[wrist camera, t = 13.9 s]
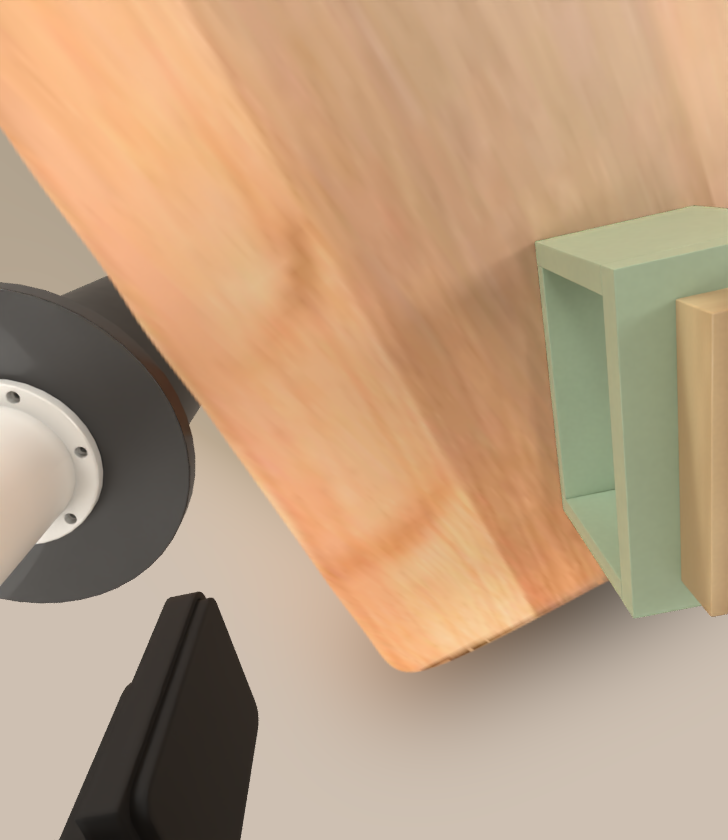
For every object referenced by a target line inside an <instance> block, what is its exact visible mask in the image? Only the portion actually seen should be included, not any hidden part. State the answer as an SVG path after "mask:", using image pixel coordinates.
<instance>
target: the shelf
mask: <svg viewBox="0 0 728 840" xmlns="http://www.w3.org/2000/svg"><path fill="white" fill-rule="evenodd" d="M535 248H536V258H537V265H538V276H539V286H540V295H541V305H542V314H543V324H544V333H545V343H546V352H547V362H548V371H549V381H550V390H551V400H552V409H553V419H554V428H555V438H556V447H557V457H558V466H559V476H560V485H561V493H562V504H563V510H564V512H565V513H566V515H567V516H568V518H569V519H570V521H571V522H572V524H573V525H574V527H575V529H576V530H577V532H578V533H579V535H580V536H581V538H582V539H583V541H584V542H585V544H586V545H587V547H588V549H589V550H590V552H591V553H592V555H593V556H594V558H595V559H596V561H597V562H598V564H599V565H600V567H601V569H602V570H603V572H604V573H605V575H606V576H607V578H608V579H609V581H610V582H611V584H612V585H613V587H614V589H615V590H616V592H617V593H618V595H619V596H620V598H621V599H622V600H623V603H624V604H625V606H626V608H627V609H628V611H629V612H630V613H631V615H632V617H633V618H639V617H645V616H650V615H655V614H660V613H666V612H671V611H676V610H681V609H687V608H692V607H697V606H702V605H701V604H700V603H699V602H698V600H697V599H696V598H695V597H694V595H693V594H692V593H691V592H690V591H689V589H688V588H687V587H686V586H685V585H684V583H683V582H682V581H681V541H680V492H679V442H678V393H677V343H676V299H679V298H684V297H688V296H693V295H697V294H702V293H706V292H711V291H715V290H720V289H724V288H728V208H718V207H707V206H695V205H694V206H689V207H685V208H680V209H676V210H672V211H667V212H663V213H658V214H654V215H650V216H645V217H641V218H636V219H632V220H628V221H623V222H619V223H614V224H610V225H605V226H601V227H597V228H592V229H588V230H583V231H579V232H575V233H570V234H566V235H561V236H557V237H553V238H548V239H544V240H539V241H536V242H535Z"/></svg>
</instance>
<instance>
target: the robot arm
mask: <svg viewBox="0 0 728 840" xmlns="http://www.w3.org/2000/svg"><path fill="white" fill-rule="evenodd" d="M84 448H85V449H86V450H85V449H84ZM102 486H103V466H102V460H101V455H100V452H99V450H98V447H97V444H96V442H95V440H94V438H93V437H92V435H91V433H90V432H89V430H88V428H87V427H86V425H85V424H84V423H83V422H82V421H81V420H80V419H79V417H78V416H77V415H76V414H75V413H74V412H73V411H72V410H71V409H69V408H68V407H67V406H66V405H65V404H63V403H62V402H61V401H60V400H58V399H56V398H55V397H53V396H51V395H50V394H48V393H46V392H45V391H43V390H40V389H38V388H35V387H33V386H30V385H28V384H25V383H20V382H16V381H12V380H7V379H0V586H1V585H2V583H3V582H4V581H5V580H6V579H7V577H8V576H9V575H10V574H11V573H12V572H13V570H14V569H15V568H16V567H17V566H18V564H19V563H20V562H21V561H22V560H23V558H24V557H25V556H26V555H27V554H28V552H29V551H30V550H31V549H32V548H33V546H34V545H35V544H41V543H46V542H49V541H52V540H56V539H59V538H61V537H63V536H65V535H66V534H68V533H70V532H72V531H73V530H74V529H75V528H77V527H78V526H79V525H80V524H81V523H83V521H84V520H85V519H86V518H87V516H88V515H89V514H90V513H91V511H92V510H93V508H94V506H95V504H96V503H97V501H98V499H99V496H100V493H101V489H102ZM257 730H258V711H257V706H256V703H255V700H254V698H253V695H252V692H251V690H250V687H249V685H248V682H247V680H246V677H245V675H244V672H243V669H242V667H241V664H240V662H239V659H238V656H237V654H236V651H235V649H234V646H233V644H232V641H231V639H230V636H229V633H228V631H227V628H226V626H225V623H224V621H223V618H222V616H221V613H220V610H219V608H218V605H217V603H216V601H215V600H214V599H213V598H207V599H206V598H205V596H204V594H203V593H202V592H195V593H190V594H185V595H180V596H175V597H170V598H169V599H167V601H166V603H165V605H164V607H163V610H162V612H161V614H160V617H159V619H158V622H157V624H156V626H155V629H154V631H153V633H152V636H151V638H150V640H149V643H148V645H147V648H146V650H145V653H144V655H143V657H142V659H141V662H140V664H139V667H138V669H137V671H136V674H135V676H134V679H133V681H132V683H130V684H129V685H128V686H127V687H126V688H125V690H124V691H123V693H122V695H121V697H120V700H119V702H118V704H117V707H116V709H115V711H114V714H113V716H112V718H111V721H110V723H109V725H108V728H107V730H106V732H105V735H104V737H103V739H102V741H101V744H100V746H99V748H98V751H97V753H96V755H95V758H94V760H93V762H92V765H91V767H90V769H89V772H88V774H87V776H86V779H85V781H84V783H83V786H82V788H81V790H80V793H79V795H78V797H77V800H76V802H75V804H74V807H73V809H72V811H71V814H70V816H69V818H68V821H67V823H66V825H65V828H64V830H63V832H62V835H61V837H60V839H59V840H240V838H241V832H242V826H243V819H244V813H245V807H246V801H247V794H248V788H249V782H250V775H251V769H252V762H253V756H254V749H255V744H256V737H257Z"/></svg>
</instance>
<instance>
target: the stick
mask: <svg viewBox="0 0 728 840" xmlns="http://www.w3.org/2000/svg"><path fill="white" fill-rule="evenodd" d="M676 343H677V393H678V442H679V492H680V541H681V581H682V582H683V583H684V585H685V586H686V587H687V588H688V589H689V591H690V592H691V593H692V594H693V595H694V597H695V598H696V599H697V600H698V602H699V603H700V604H701V605H702V606H703V607H704V609H705V610H706V611H707V612H708V613H709V615H710V616H711V617H715V616H720V615H725V614H728V288H724V289H720V290H715V291H711V292H706V293H702V294H697V295H693V296H688V297H684V298H679V299H676Z"/></svg>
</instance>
